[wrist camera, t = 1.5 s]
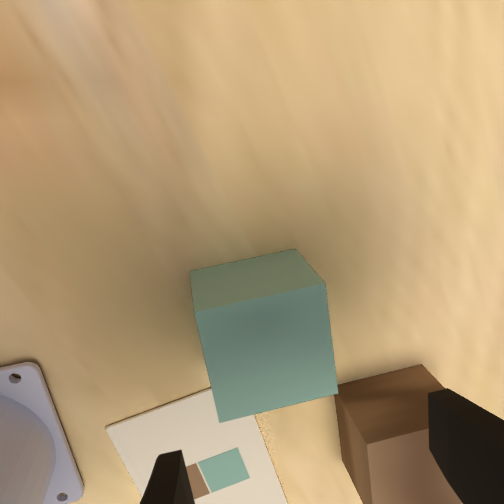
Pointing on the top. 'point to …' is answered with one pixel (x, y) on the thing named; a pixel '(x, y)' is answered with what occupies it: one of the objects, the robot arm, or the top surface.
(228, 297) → the teal block
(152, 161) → the top surface
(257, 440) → the page
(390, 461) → the walnut block
